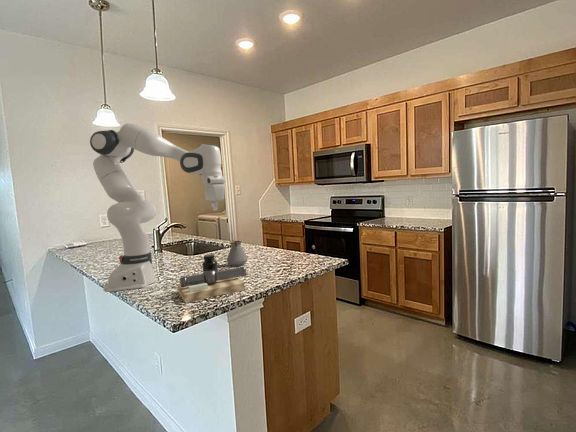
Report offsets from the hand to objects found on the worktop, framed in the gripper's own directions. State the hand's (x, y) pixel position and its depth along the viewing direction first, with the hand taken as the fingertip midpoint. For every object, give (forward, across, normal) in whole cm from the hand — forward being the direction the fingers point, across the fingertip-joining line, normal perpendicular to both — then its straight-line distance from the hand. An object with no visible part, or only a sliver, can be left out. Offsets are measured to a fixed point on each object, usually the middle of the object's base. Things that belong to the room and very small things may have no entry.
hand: (214, 210), depth 148 cm
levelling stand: (+32, +14, -8) cm, 36 cm away
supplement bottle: (+33, -1, -4) cm, 33 cm away
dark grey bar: (+29, +14, -6) cm, 33 cm away
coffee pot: (+33, -19, +15) cm, 41 cm away
